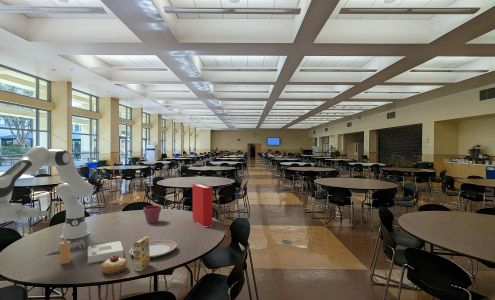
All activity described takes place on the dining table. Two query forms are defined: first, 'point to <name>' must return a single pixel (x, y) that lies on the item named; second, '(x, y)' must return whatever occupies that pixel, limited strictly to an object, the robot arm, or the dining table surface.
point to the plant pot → (152, 213)
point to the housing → (104, 251)
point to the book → (202, 204)
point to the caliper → (70, 247)
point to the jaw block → (65, 252)
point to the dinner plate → (158, 247)
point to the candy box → (141, 254)
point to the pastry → (114, 265)
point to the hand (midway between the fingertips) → (48, 213)
